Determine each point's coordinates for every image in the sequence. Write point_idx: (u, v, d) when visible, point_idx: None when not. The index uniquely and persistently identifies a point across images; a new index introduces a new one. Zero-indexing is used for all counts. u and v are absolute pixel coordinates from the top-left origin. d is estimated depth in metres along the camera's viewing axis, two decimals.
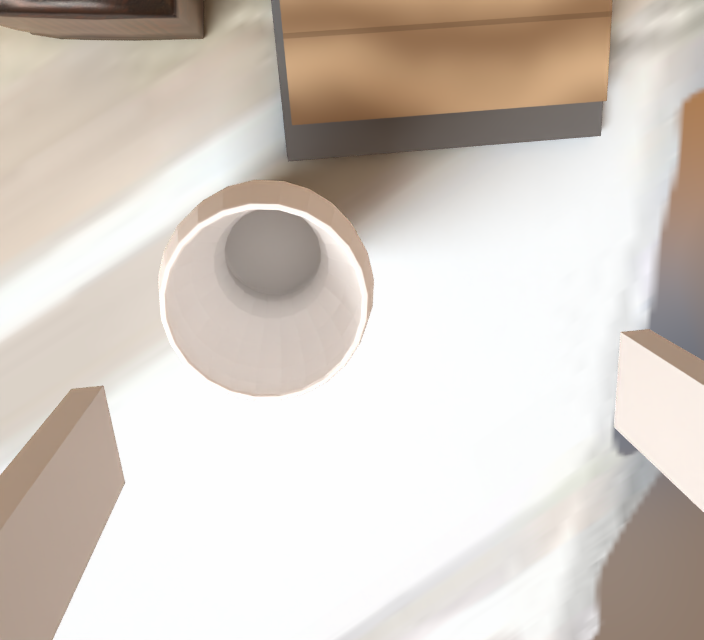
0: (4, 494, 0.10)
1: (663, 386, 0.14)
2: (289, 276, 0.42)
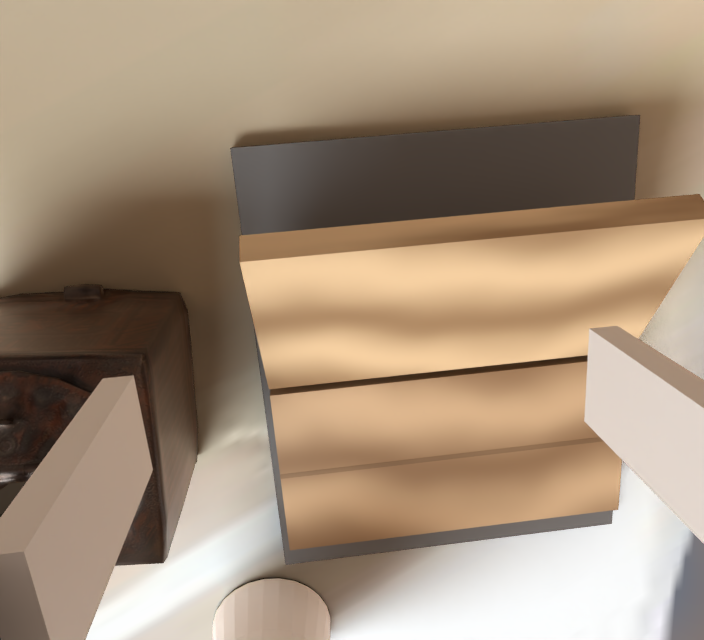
0: (50, 475, 0.11)
1: (627, 381, 0.14)
2: None
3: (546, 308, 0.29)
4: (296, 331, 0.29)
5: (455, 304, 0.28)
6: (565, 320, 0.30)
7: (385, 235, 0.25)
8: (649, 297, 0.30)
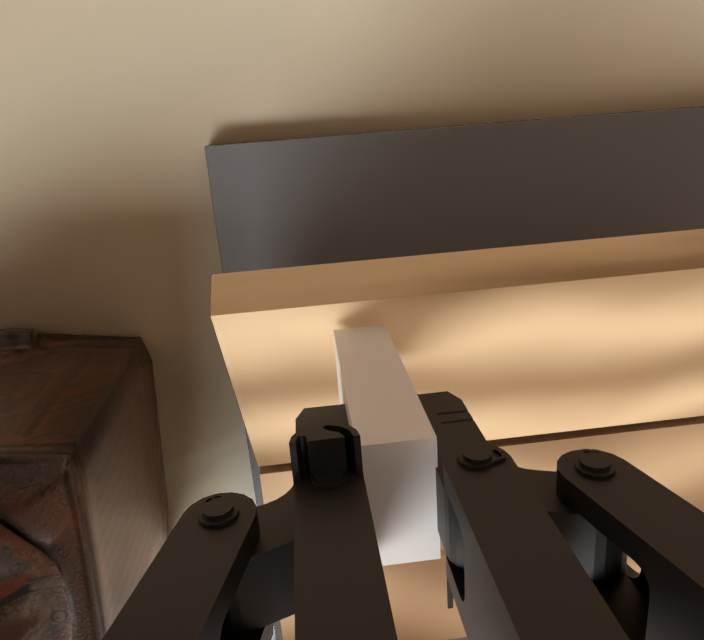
0: (363, 394, 0.13)
1: None
2: None
3: (636, 366, 0.22)
4: (294, 401, 0.21)
5: (515, 364, 0.20)
6: (658, 380, 0.23)
7: (424, 274, 0.17)
8: None
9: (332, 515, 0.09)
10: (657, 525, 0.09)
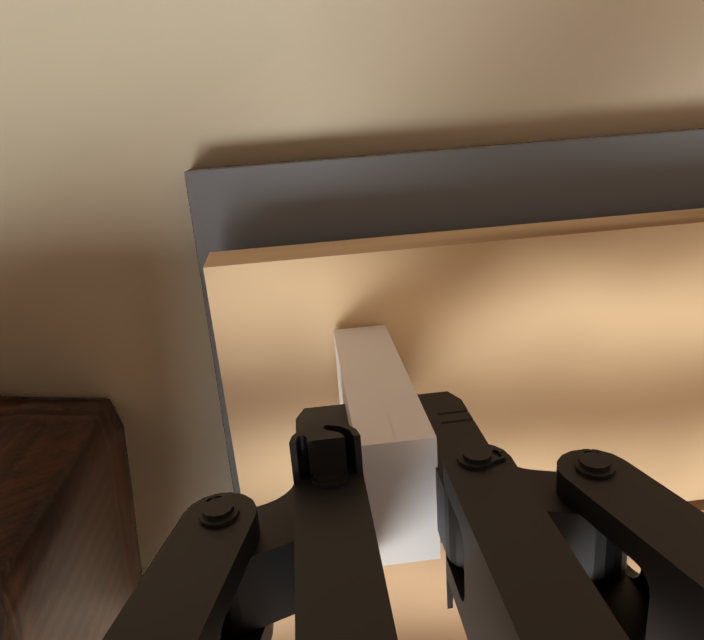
0: (363, 394, 0.13)
1: None
2: None
3: (674, 384, 0.19)
4: (291, 422, 0.18)
5: (534, 370, 0.19)
6: None
7: (419, 240, 0.17)
8: None
9: (332, 515, 0.09)
10: (657, 525, 0.09)
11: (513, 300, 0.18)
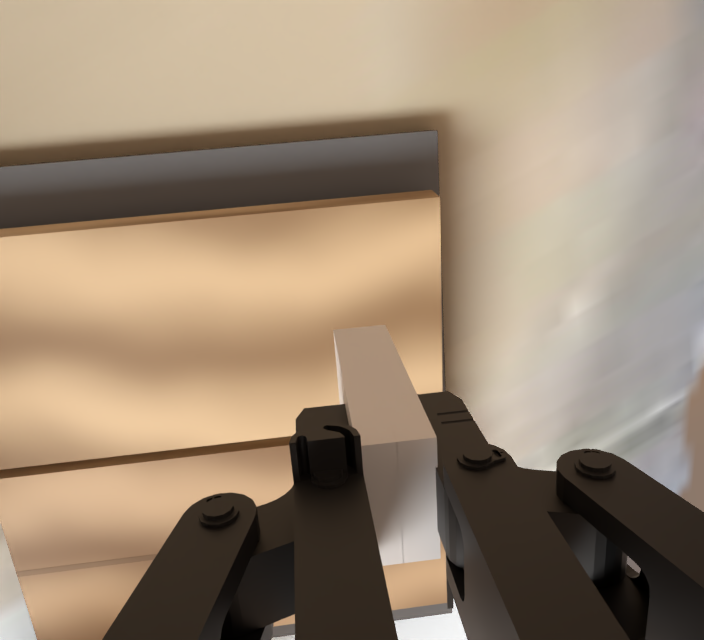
0: (363, 394, 0.13)
1: None
2: None
3: (298, 336, 0.25)
4: None
5: (180, 325, 0.24)
6: (332, 359, 0.26)
7: (75, 226, 0.23)
8: (422, 322, 0.25)
9: (332, 515, 0.09)
10: (657, 525, 0.09)
11: (149, 271, 0.23)
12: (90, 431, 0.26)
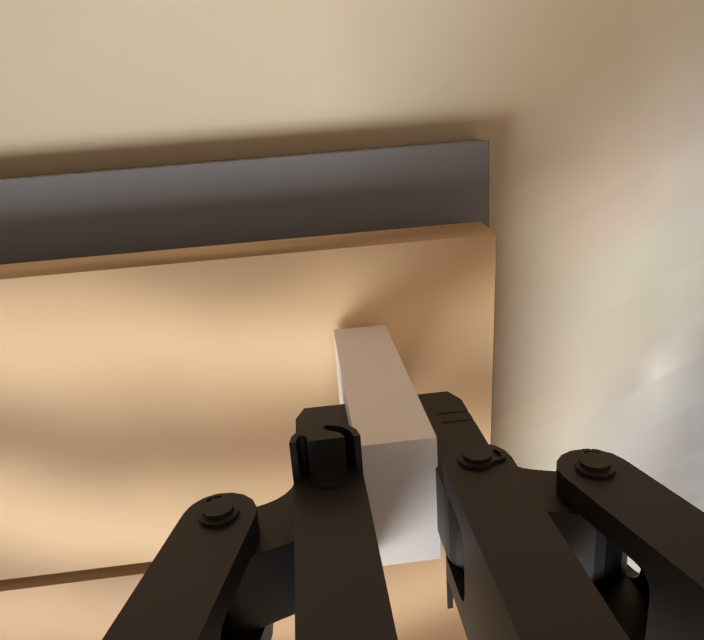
0: (363, 394, 0.13)
1: None
2: None
3: None
4: None
5: (136, 407, 0.18)
6: None
7: None
8: (465, 400, 0.19)
9: (332, 515, 0.09)
10: (657, 525, 0.09)
11: (90, 335, 0.17)
12: (16, 543, 0.19)
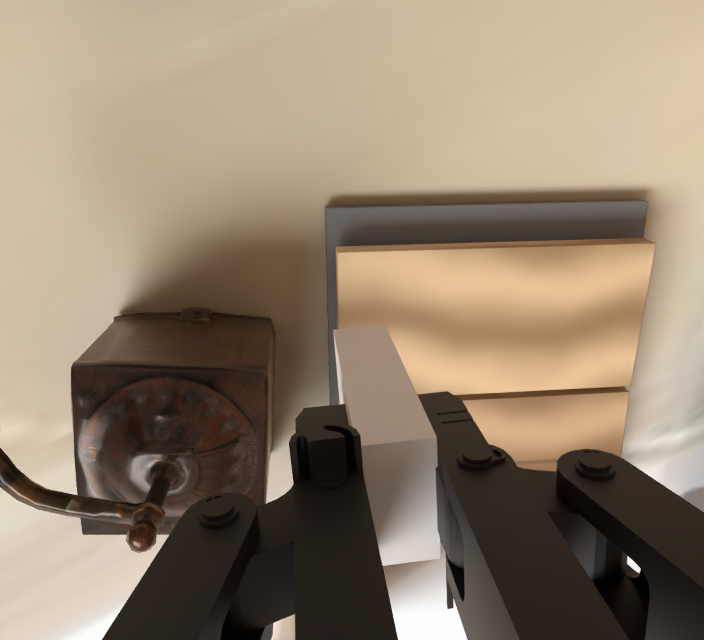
0: (363, 394, 0.13)
1: None
2: None
3: (553, 324, 0.39)
4: None
5: (485, 312, 0.39)
6: (570, 341, 0.40)
7: (433, 246, 0.38)
8: (629, 321, 0.40)
9: (332, 515, 0.09)
10: (657, 525, 0.09)
11: (476, 277, 0.38)
12: (411, 378, 0.40)
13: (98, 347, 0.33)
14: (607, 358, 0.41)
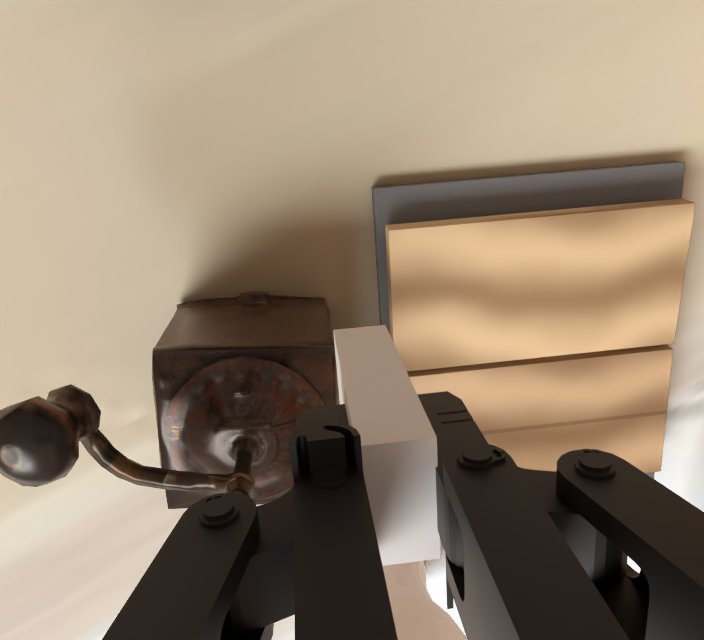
0: (363, 394, 0.13)
1: None
2: None
3: (597, 288, 0.41)
4: (419, 303, 0.40)
5: (531, 280, 0.40)
6: (614, 303, 0.41)
7: (479, 219, 0.39)
8: (671, 280, 0.41)
9: (332, 515, 0.09)
10: (657, 525, 0.09)
11: (522, 246, 0.39)
12: (463, 347, 0.41)
13: (171, 333, 0.35)
14: (651, 318, 0.42)
